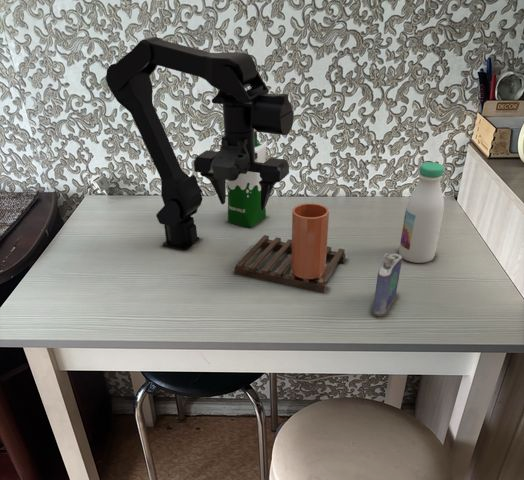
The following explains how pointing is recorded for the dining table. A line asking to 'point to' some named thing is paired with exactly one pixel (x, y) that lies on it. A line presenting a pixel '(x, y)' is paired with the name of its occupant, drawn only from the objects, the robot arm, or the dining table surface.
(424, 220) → the milk bottle
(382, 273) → the flask
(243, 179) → the milk carton
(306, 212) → the tumbler
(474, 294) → the dining table surface
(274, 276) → the drying rack
